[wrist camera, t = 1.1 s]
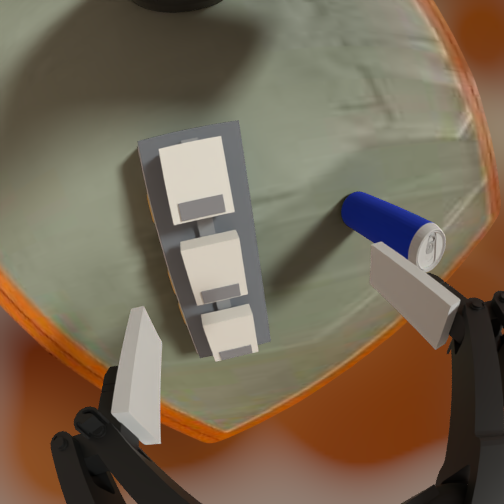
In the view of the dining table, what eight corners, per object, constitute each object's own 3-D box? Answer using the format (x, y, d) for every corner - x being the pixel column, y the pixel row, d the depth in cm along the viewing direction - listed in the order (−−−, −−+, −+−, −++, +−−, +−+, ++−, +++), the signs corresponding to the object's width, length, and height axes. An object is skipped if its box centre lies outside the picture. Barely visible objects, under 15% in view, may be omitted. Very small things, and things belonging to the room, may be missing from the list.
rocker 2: (180, 239, 27) (180, 252, 25) (234, 227, 27) (239, 238, 25) (195, 292, 30) (197, 306, 28) (243, 281, 31) (248, 295, 29)
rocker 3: (200, 311, 30) (202, 326, 28) (247, 300, 31) (253, 315, 29) (213, 347, 34) (215, 362, 32) (254, 338, 35) (258, 352, 33)
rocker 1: (161, 151, 24) (158, 148, 21) (219, 139, 25) (221, 135, 22) (175, 221, 26) (173, 225, 24) (231, 209, 27) (235, 212, 24)
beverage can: (369, 222, 37) (443, 267, 24) (339, 229, 36) (411, 281, 23) (368, 188, 35) (450, 221, 21) (337, 193, 34) (417, 231, 21)
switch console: (140, 142, 26) (132, 142, 22) (232, 122, 28) (239, 119, 24) (195, 339, 38) (197, 361, 34) (263, 324, 40) (272, 344, 36)
